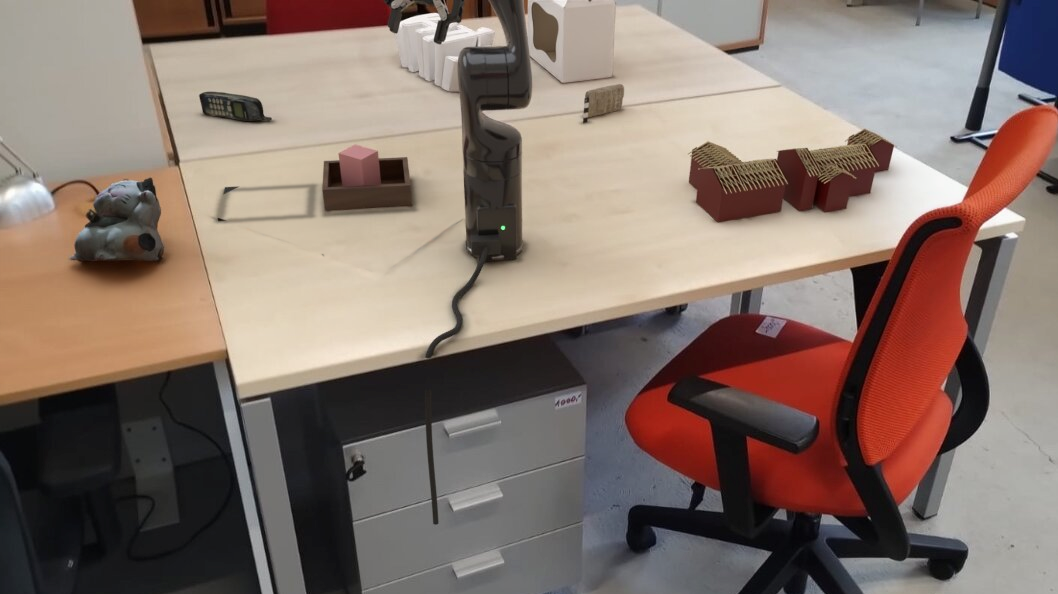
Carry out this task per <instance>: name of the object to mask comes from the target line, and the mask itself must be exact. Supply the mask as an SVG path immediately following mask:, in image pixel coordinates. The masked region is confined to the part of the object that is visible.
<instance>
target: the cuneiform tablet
mask: <svg viewBox="0 0 1058 594" xmlns="http://www.w3.org/2000/svg"><path fill="white" fill-rule="evenodd" d="M624 97H625V86H624V85H623V84H622V83H617V84H611V85H607V86H603V87H597V88H594V89H589V90H587V91H585V95H584V101H583V102H584V103H583V118H582V123H583V124H586V123H588V119H589V118H592V117H595V116H601V115H604V114H607V113H614V112H617V111H620V110H622V108H623V101H624Z"/></svg>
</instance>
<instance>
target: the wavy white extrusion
mask: <svg viewBox="0 0 1058 594" xmlns="http://www.w3.org/2000/svg"><path fill="white" fill-rule="evenodd" d="M438 20H439V21H440V20H441V18H440V16H439V13H438V12H431V13H424V14H418V15H413V16H411V17H409V18H405V19H403V20H401V21H400V25H399V29H398V33H397V34H396V33H394V37H395V41H396V45H397V51H398V54H399V59H400V64H401V67H402V68H408V71H409V72H411V73H416V72H418V76H419V77H420V78H422V79H424V80H425V81H427V82H432V81H434V85H435V86H437V87H441V89H443V90H444V91H447V92H453V93H454V92H457V93H459V86H458V73H457V64H458V57H459V54H460V52H461V50H462V49H463V48H465V47H478V46H482V47H483V46H493V43H494V39H495V35H496V31H495V30H494V29H491V28H488V27H483V26H482V27H478V28H477V30H476V31H475V30H474V29H471V28H469V27H467V26H465V25H463V24H460V23H451V24H450V25H449V27H448V31H447V35H446V39H445V41H444V42H442V43H441V45H440V44H436V43H435V42H434V36H435V32H436V28H437V24H438Z"/></svg>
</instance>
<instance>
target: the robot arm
mask: <svg viewBox="0 0 1058 594" xmlns="http://www.w3.org/2000/svg"><path fill="white" fill-rule="evenodd" d="M487 1H488V2H489V4H490V6H491V8H492V9H493V11H494V13H495V15H496V16H497V19H498V21H499V23H500V26H501V29H502V32H503V35H504V38H505V44H506V45H492V46H483V47H482V46H478V47H465V48H463V49H462V50H461V52H460V54H459V57H458V64H457V73H458V86H459V92H458V94H459V104H460V116H461V144H462V145H461V146H462V147H461V148H462V149H461V150H462V168H463V169H462V174H463V196H464V222H465V223H464V224H465V249H466V251H467V252H468V254H470V255H471V256H472V257H474V258H477V261H478V262H477V263H478V264H477V266H476V268H475V270H474V272H473V274H472V275H471V277H470V278H469V280H468V281H467V282H466V284H465V285H464V286H463V287H461V288H460V289H459V290H458V291H457V292H456V293H455V295H454V296H453V299H452V300H451V308H452V312H453V314H454V317H455V319H456V324H455V326H454V327H453V328H452V329H450V330H447V331H445V332H442V333H441V334H439V335H438V336H436V337H435V338H434V339H433V340H432V341H431V342H430V344H429V346H428V347H427V349H426V352H425V356H424V358H425V359H430V358H432V356H433V354H434V351H435V349H436V347H437V346H438V345H439V344H440V343H442V342H443V341H445V340H447V339H449V338H452V337H454V336H455V335H457V334H458V333H459V332H460V331H461V330H462V327H463V324H464V319H463V315H462V312H461V311H460V309H459V301H460V299H461V298H462V296H463V295H464V294H466V293H467V292H468V291H469V290H470V289H471V288H472V287H473V285H474V284H475V282H476V281H477V279H478V278H479V276H480V274H481V271H482V270H483V268H484V266H485V263H486V262H491V261H492V262H493V261H505V260H507V261H508V260H517V258H518V255H519V254H520V253H521V252H522V251H523V248H524V240H523V138H522V135H521V132H520V131H519V130H518V129H517V128H516V127H514V126H512V125H511V124H508V123H506V122H505V123H504V122H502V121H499V120H496V119H494V118H491V117H489V116H488V115H486V114H485V113H484V111H485V112H486V111H506V110H507V111H509V110H510V111H511V110H513V111H514V110H524V109H526V108H528V106H530V103H531V101H532V96H533V75H532V74H533V73H532V64H531V63H532V62H531V56H530V53H529V45H528V27H527V20H526V12H525V11H526V10H525V1H524V0H487ZM382 2H383V3H385V4H386V5H387V6H388V7H390V13H389V18H388V21H387V28H389V32H391V33H393V34H395V33H396V34H397V33H398V29H399V25H400V22H401V21H402V17H403V13H402V12H403V11H404V10H406V9H407V8H408V7H410V6H412V5H413V4H414V3H417V4H418V5H426V6H428V7H431V8H434V7H435V9H436V10H437V13H438V14H439V16H440V18H441V20H440V21H439V20H438V24H437V28H436V32H435V36H434V42H435V43H436V44H440V45H441V43H442V42H444V41H445V39H446V35H447V31H448V27H449V25H450V24H451V23H459V24H460V23H462V21H463V20H462V19H463V15H464V9H465V5H466V0H452V6H451V12H450V13H449V9H448V6H447V4H446V1H445V0H382ZM424 405H425V407H424V409H425V410H424V411H425V414H424V415H425V437H426V438H425V439H426V440H425V441H426V453H427V454H426V455H427V466H428V476H429V477H428V478H429V489H430V497H431V498H430V499H431V511H432V513H431V514H432V524H433V525H434V526H436V525H438V524H439V509H438V508H439V507H438V506H439V505H438V494H437V484H436V483H437V482H436V471H435V460H434V446H433V426H432V425H433V421H432V389H425V390H424Z"/></svg>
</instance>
